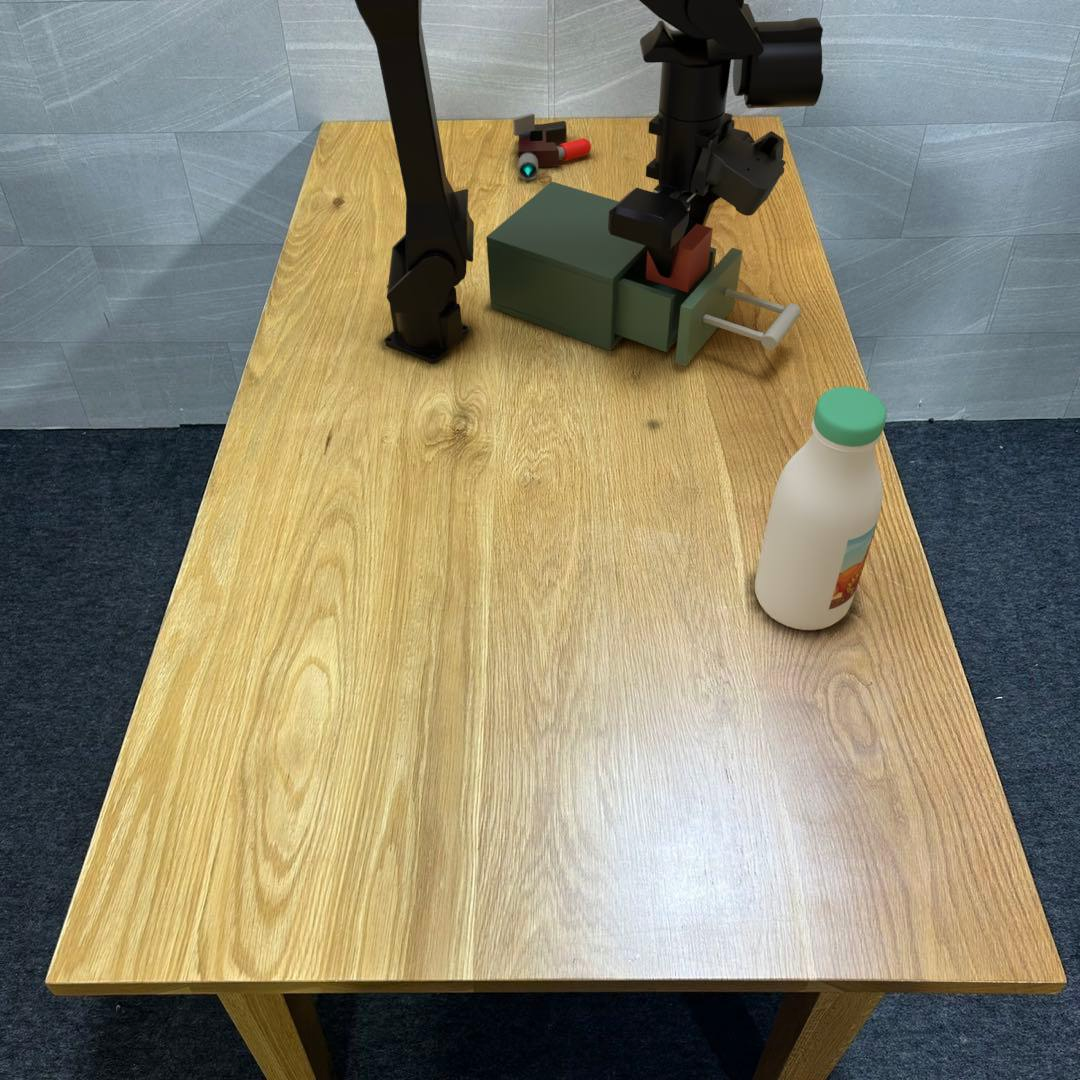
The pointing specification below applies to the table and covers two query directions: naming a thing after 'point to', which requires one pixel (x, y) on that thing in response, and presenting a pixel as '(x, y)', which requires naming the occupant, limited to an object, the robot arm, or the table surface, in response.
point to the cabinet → (561, 264)
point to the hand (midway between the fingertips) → (677, 263)
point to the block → (686, 260)
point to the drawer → (690, 309)
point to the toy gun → (544, 145)
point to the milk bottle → (824, 514)
